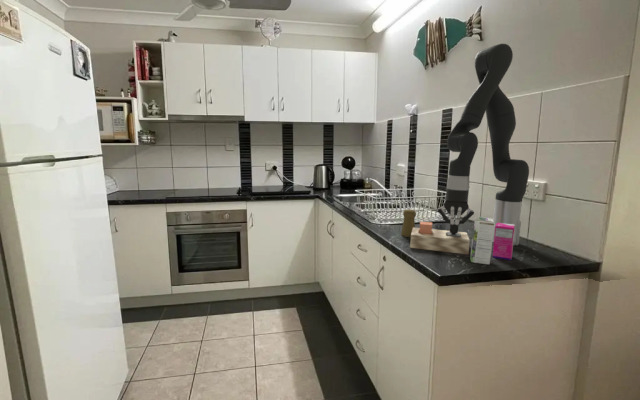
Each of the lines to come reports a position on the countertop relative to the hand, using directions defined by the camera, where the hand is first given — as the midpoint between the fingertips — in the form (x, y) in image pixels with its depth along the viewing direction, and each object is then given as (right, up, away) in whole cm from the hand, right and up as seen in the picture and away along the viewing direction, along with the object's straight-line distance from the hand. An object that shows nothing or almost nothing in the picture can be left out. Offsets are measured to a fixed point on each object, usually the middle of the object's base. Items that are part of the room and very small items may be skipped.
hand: (453, 233), depth 123 cm
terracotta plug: (-9, -1, +3) cm, 10 cm away
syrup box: (+4, -8, -13) cm, 16 cm away
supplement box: (+14, -7, -8) cm, 17 cm away
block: (-5, -5, +3) cm, 7 cm away
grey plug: (0, -5, +1) cm, 5 cm away
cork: (-12, -2, +18) cm, 21 cm away
